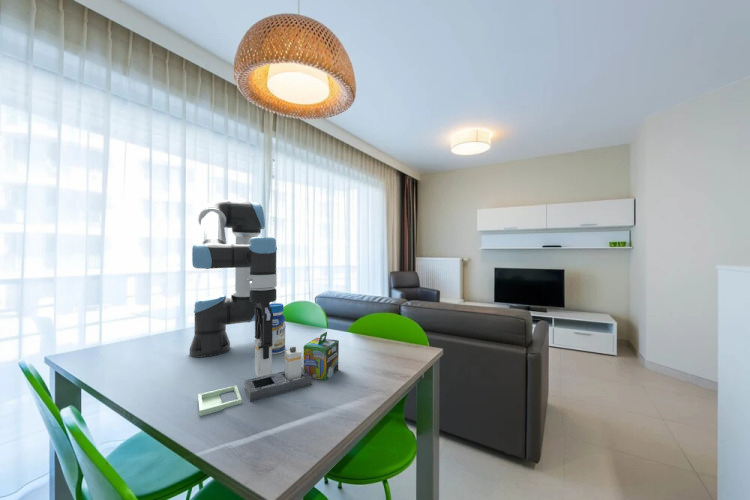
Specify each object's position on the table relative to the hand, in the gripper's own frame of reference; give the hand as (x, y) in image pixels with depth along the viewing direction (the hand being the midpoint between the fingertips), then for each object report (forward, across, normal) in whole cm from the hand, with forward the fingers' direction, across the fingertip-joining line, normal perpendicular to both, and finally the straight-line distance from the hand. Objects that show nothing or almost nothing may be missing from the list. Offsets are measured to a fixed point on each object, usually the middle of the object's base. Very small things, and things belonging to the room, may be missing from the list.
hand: (263, 366), depth 86 cm
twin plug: (+7, 0, +9) cm, 12 cm away
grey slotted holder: (+8, 0, +4) cm, 9 cm away
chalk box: (+9, -2, +20) cm, 21 cm away
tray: (+8, -1, -12) cm, 14 cm away
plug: (+2, 0, 0) cm, 2 cm away
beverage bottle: (+9, -35, +12) cm, 38 cm away
